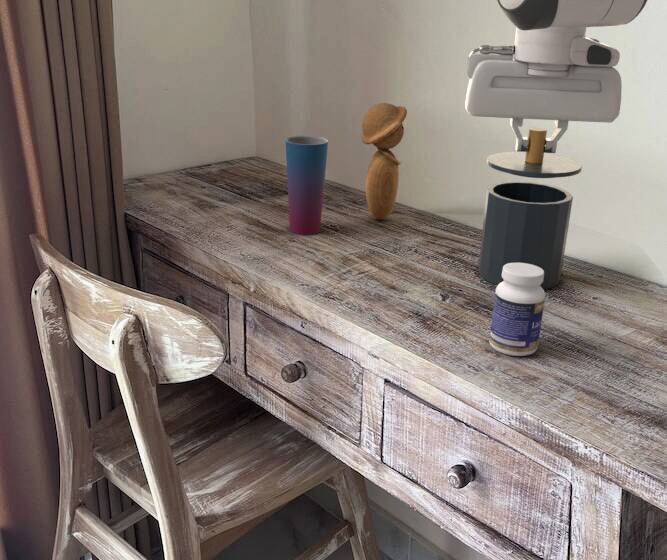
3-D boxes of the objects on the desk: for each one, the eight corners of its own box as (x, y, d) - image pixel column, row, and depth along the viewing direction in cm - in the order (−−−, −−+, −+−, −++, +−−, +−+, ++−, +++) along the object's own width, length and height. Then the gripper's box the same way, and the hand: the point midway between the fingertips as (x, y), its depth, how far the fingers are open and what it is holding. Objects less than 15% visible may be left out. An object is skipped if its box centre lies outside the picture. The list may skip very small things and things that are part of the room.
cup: (321, 223, 138) (324, 135, 132) (328, 236, 132) (331, 144, 126) (281, 223, 137) (283, 135, 131) (286, 236, 131) (288, 144, 125)
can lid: (589, 184, 106) (596, 141, 104) (491, 179, 107) (496, 136, 105) (570, 161, 118) (575, 122, 116) (481, 157, 119) (485, 118, 117)
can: (566, 292, 113) (580, 206, 108) (482, 287, 114) (492, 201, 109) (551, 263, 124) (563, 183, 119) (475, 258, 124) (483, 179, 120)
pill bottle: (539, 360, 94) (551, 280, 90) (489, 355, 94) (498, 275, 91) (535, 338, 99) (546, 262, 95) (488, 334, 100) (497, 258, 96)
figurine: (406, 226, 138) (414, 108, 130) (365, 228, 136) (371, 108, 129) (390, 210, 146) (397, 98, 139) (351, 212, 144) (357, 98, 137)
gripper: (470, 46, 104) (461, 153, 109) (632, 53, 103) (615, 160, 108) (466, 42, 110) (457, 143, 115) (620, 48, 109) (604, 150, 114)
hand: (535, 151), depth 112 cm, fingers closed on can lid, 2 cm apart
